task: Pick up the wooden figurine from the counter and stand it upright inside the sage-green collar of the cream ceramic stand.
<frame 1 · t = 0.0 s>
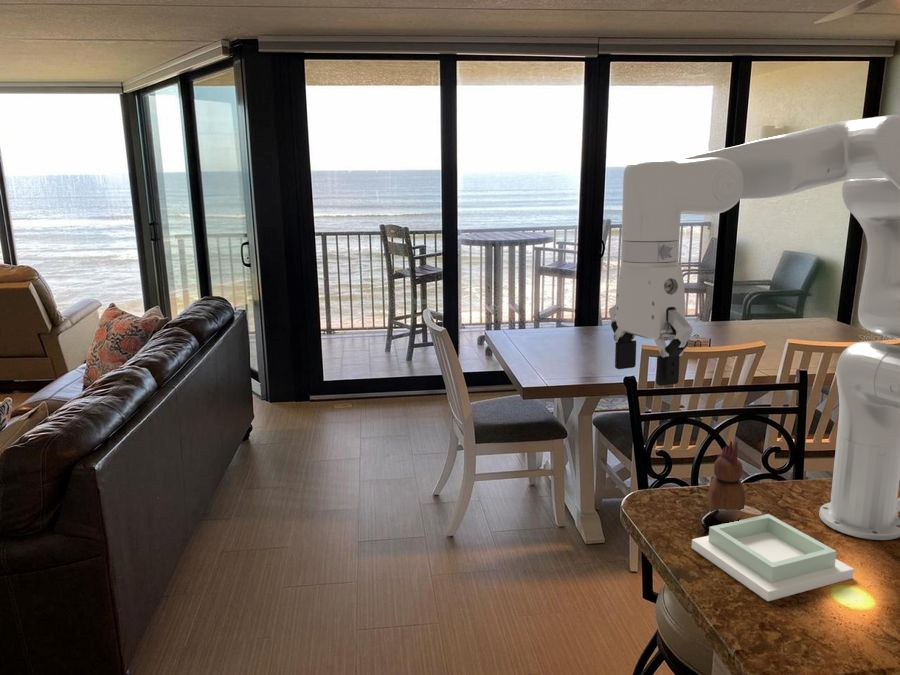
hand: (645, 375, 95), 31 cm above the kitchen counter, tool pointing down, fingers open, 9 cm apart
ceramic stand: (768, 562, 105), on the kitchen counter
wooden figurine: (724, 520, 119), on the kitchen counter
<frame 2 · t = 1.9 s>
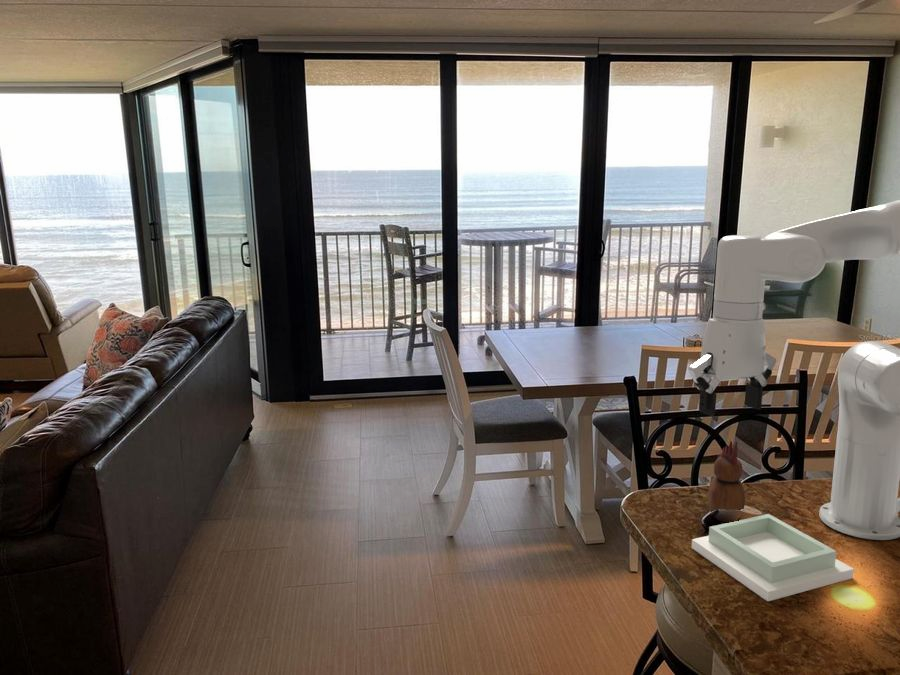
hand: (729, 410, 115), 20 cm above the kitchen counter, tool pointing down, fingers open, 9 cm apart
nothing on the kitchen counter moved.
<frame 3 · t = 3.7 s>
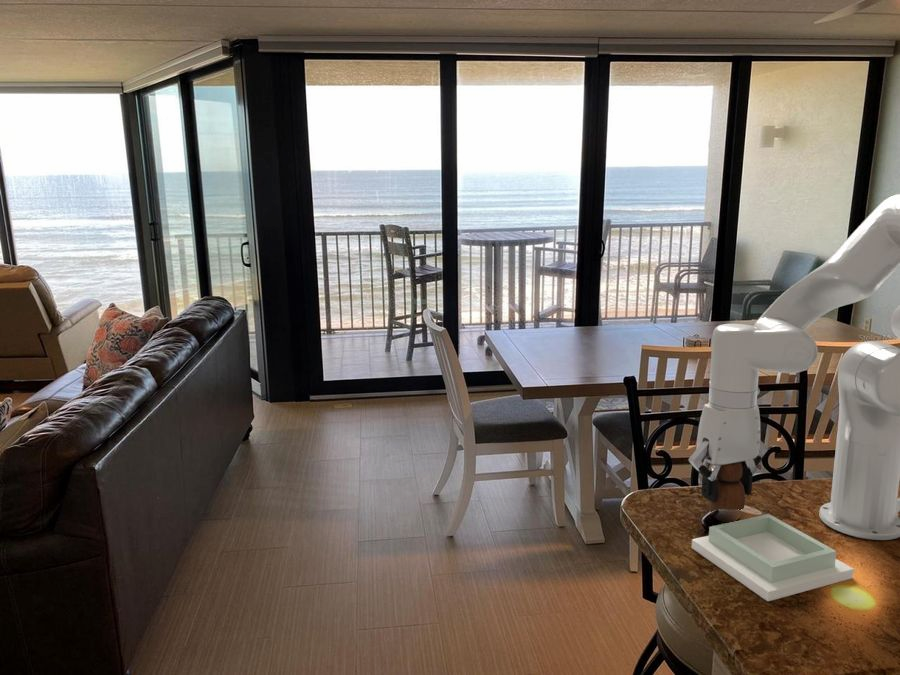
hand: (726, 494, 118), 5 cm above the kitchen counter, tool pointing down, fingers closed on wooden figurine, 6 cm apart
wooden figurine: (724, 519, 119), on the kitchen counter, touching gripper
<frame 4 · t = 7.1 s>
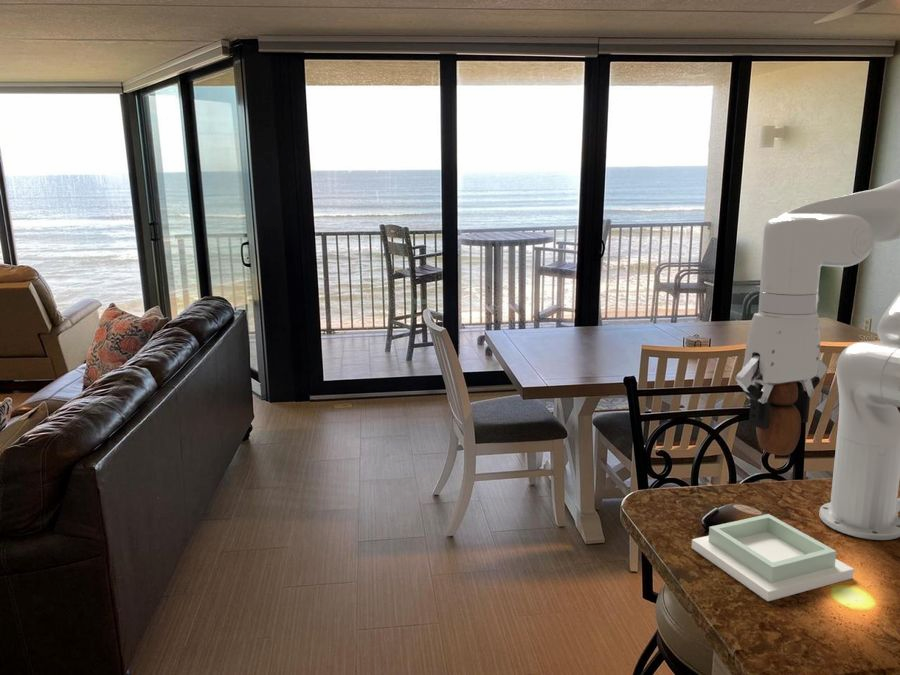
hand: (778, 422, 100), 23 cm above the kitchen counter, tool pointing down, fingers closed on wooden figurine, 6 cm apart
wooden figurine: (776, 452, 101), point 18 cm above the kitchen counter, touching gripper
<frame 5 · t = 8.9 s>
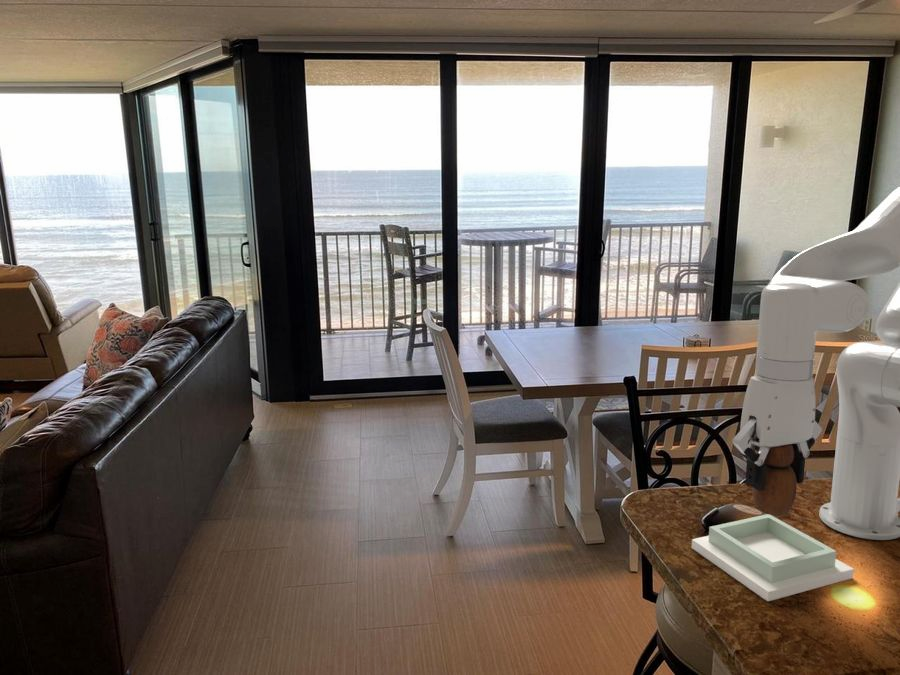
hand: (774, 482, 102), 13 cm above the kitchen counter, tool pointing down, fingers closed on wooden figurine, 6 cm apart
wooden figurine: (771, 511, 103), point 8 cm above the kitchen counter, touching gripper
when the fingers open (7 cm above the kitchen counter, at t = 10.6 s): wooden figurine stays where it is, resting on ceramic stand.
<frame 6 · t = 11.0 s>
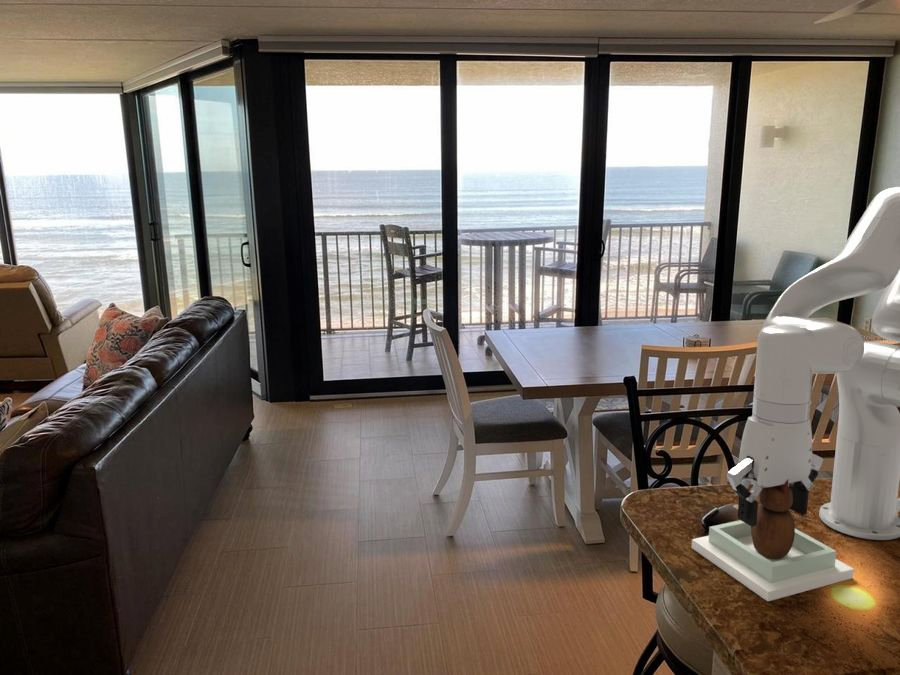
hand: (772, 516, 103), 8 cm above the kitchen counter, tool pointing down, fingers open, 9 cm apart
wooden figurine: (769, 553, 104), point 1 cm above the kitchen counter, touching ceramic stand
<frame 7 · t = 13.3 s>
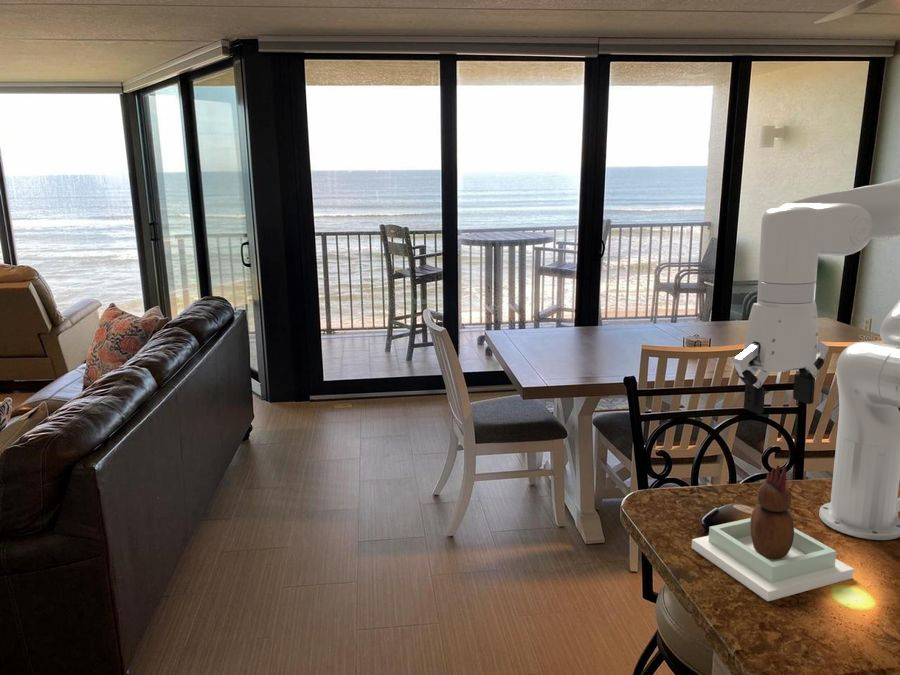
hand: (778, 406, 102), 25 cm above the kitchen counter, tool pointing down, fingers open, 9 cm apart
nothing on the kitchen counter moved.
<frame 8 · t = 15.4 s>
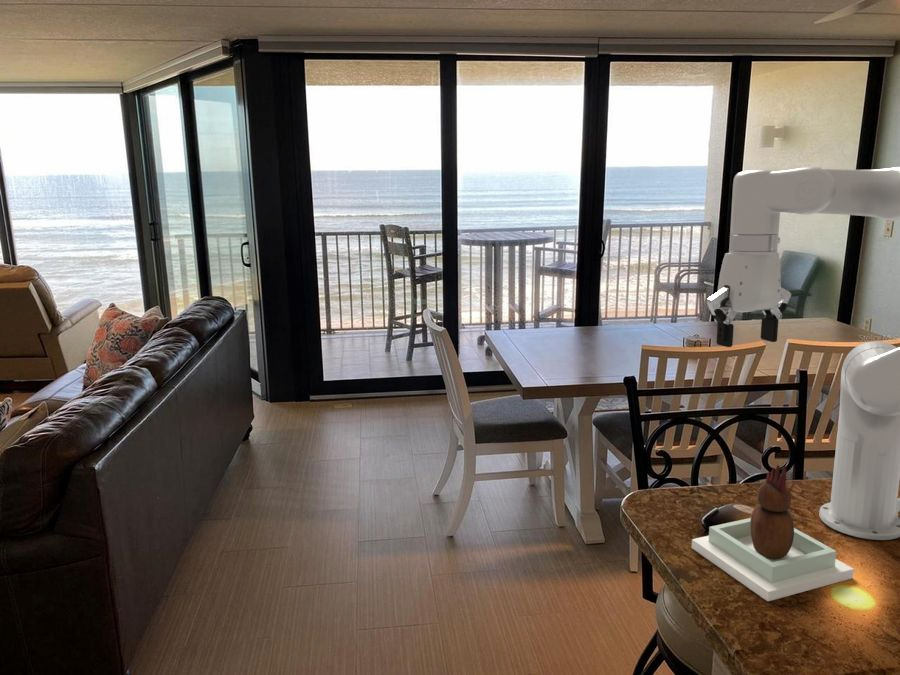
hand: (746, 343, 118), 30 cm above the kitchen counter, tool pointing down, fingers open, 9 cm apart
nothing on the kitchen counter moved.
at the end: wooden figurine 0.2 cm off-centre on the ceramic stand, point 1.3 cm above the ceramic stand's base; wooden figurine tilted 0°; the gripper is holding nothing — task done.
